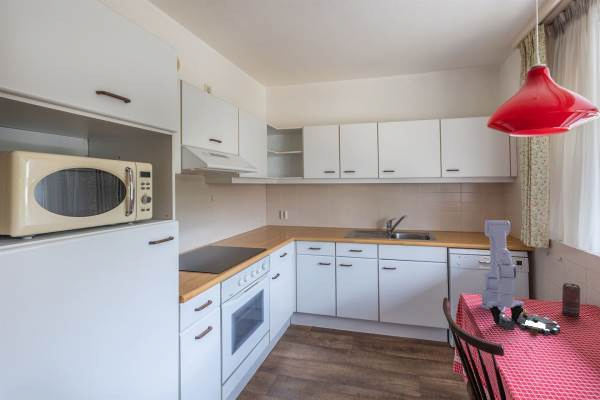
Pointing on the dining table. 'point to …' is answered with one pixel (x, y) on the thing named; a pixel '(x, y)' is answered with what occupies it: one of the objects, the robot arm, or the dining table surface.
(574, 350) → the dining table surface
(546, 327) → the sprocket
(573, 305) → the can
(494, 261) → the robot arm
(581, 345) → the dining table surface
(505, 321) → the gray speaker cabinet
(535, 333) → the brown rectangular block
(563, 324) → the dining table surface
